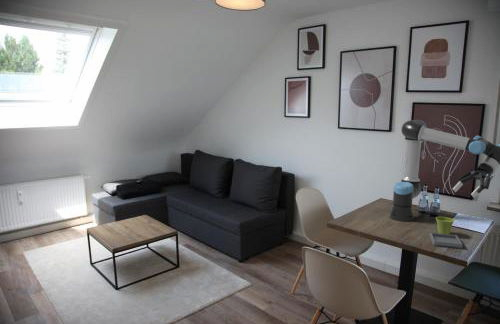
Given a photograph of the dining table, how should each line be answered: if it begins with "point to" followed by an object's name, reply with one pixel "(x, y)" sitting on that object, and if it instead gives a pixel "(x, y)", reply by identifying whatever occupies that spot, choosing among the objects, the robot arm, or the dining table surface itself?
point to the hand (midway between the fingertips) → (463, 193)
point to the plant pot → (444, 225)
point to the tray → (445, 240)
